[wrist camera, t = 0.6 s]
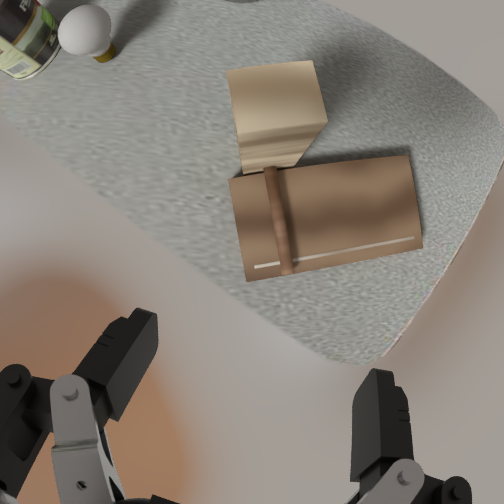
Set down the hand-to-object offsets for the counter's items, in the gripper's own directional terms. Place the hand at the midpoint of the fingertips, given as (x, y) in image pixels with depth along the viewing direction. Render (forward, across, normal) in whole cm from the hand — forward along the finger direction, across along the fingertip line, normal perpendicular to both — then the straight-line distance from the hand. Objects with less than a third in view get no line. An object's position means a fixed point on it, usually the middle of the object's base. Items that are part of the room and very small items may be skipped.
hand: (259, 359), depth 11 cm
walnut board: (+24, -4, +3) cm, 24 cm away
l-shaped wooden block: (+23, +2, +3) cm, 23 cm away
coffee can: (+26, +39, -12) cm, 49 cm away
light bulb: (+27, +25, -10) cm, 38 cm away
